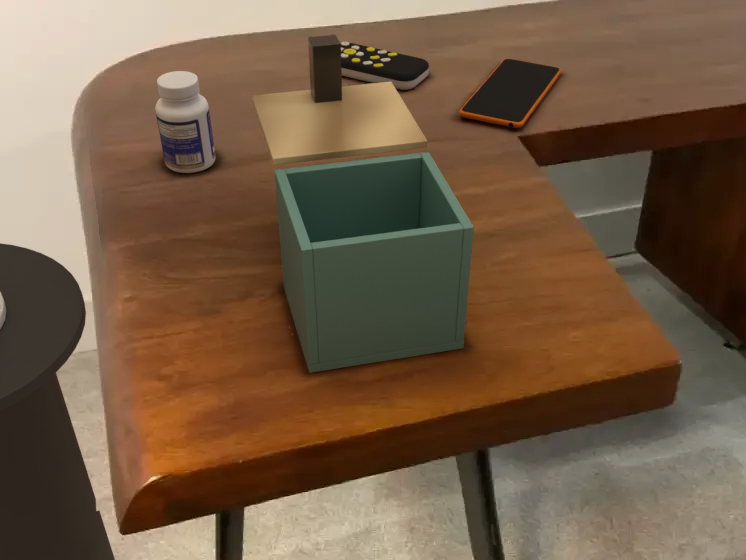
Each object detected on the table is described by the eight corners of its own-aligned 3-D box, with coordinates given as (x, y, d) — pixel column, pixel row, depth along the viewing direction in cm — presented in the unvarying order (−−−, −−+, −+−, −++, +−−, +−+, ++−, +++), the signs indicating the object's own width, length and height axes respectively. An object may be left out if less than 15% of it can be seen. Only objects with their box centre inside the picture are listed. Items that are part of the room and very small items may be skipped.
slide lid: (273, 165, 72) (267, 98, 68) (251, 102, 80) (245, 38, 76) (427, 147, 74) (430, 81, 70) (391, 87, 82) (392, 25, 78)
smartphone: (562, 73, 112) (563, 66, 111) (520, 131, 100) (521, 124, 100) (503, 62, 114) (503, 55, 113) (456, 118, 103) (456, 111, 102)
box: (309, 373, 71) (301, 250, 63) (283, 287, 79) (274, 169, 72) (463, 348, 73) (474, 227, 66) (423, 267, 82) (428, 151, 74)
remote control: (410, 93, 107) (410, 77, 106) (317, 71, 112) (316, 55, 110) (433, 74, 111) (433, 58, 110) (342, 53, 116) (341, 37, 114)
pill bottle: (185, 145, 98) (172, 63, 92) (225, 156, 96) (215, 74, 90) (154, 167, 94) (138, 83, 88) (195, 179, 93) (183, 94, 87)
